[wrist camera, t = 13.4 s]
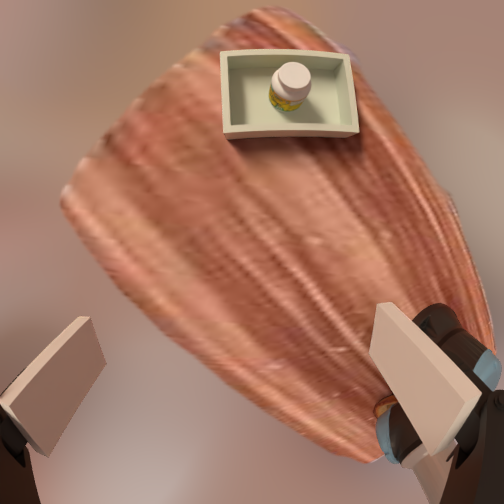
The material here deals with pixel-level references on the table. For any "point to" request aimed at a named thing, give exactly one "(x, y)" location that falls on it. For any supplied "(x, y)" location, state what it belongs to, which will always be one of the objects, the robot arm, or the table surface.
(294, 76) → the supplement bottle
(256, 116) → the bin
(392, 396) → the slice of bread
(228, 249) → the table surface
